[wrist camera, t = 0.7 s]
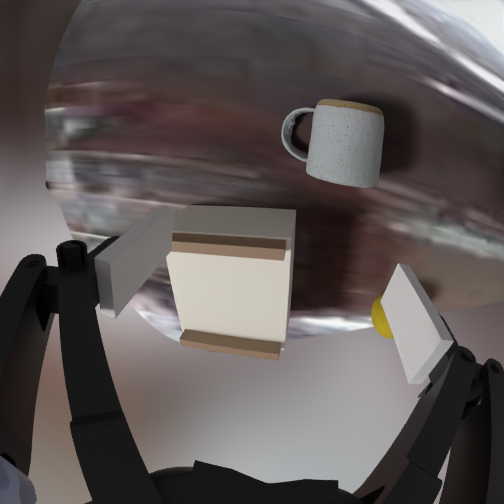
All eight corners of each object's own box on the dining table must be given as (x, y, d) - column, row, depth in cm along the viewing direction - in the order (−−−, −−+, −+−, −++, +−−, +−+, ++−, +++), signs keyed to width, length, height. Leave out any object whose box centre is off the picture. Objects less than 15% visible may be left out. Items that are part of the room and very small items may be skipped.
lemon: (381, 316, 40) (389, 355, 33) (360, 296, 39) (366, 335, 32) (410, 295, 37) (423, 333, 30) (390, 273, 36) (402, 310, 29)
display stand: (296, 209, 35) (289, 247, 26) (290, 310, 42) (282, 361, 34) (188, 205, 37) (152, 238, 29) (201, 300, 45) (178, 345, 36)
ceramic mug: (378, 108, 27) (395, 109, 20) (370, 176, 31) (383, 195, 24) (285, 96, 29) (275, 93, 22) (281, 164, 33) (271, 180, 26)
